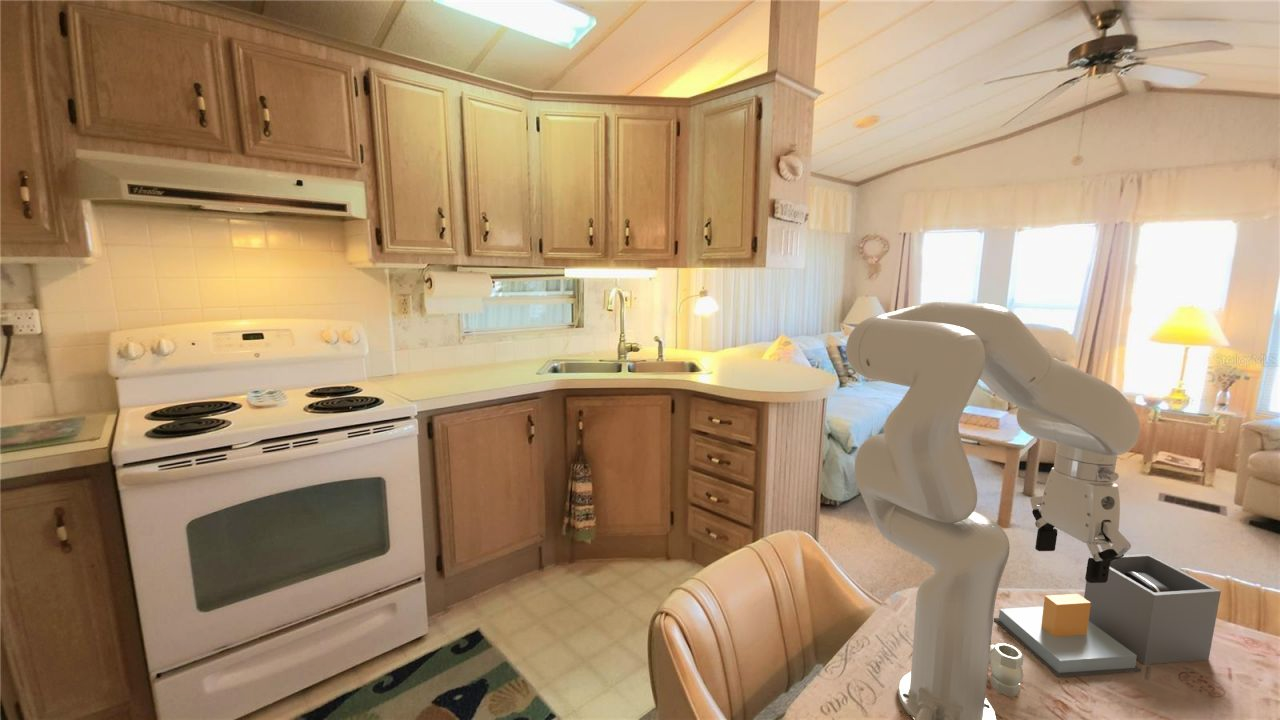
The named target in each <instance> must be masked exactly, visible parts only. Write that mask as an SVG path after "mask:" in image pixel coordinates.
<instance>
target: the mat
mask: <svg viewBox="0 0 1280 720" xmlns="http://www.w3.org/2000/svg"><path fill="white" fill-rule="evenodd" d="M994 621H995V623H997V625H998V626H1000V627H1001V628H1002V629H1004V630H1005V632H1006V633H1008V634H1009V636H1011V637H1012V638H1013V639H1015V640H1016V641H1017V643H1019V644H1020V645H1021V646H1022V647H1023V648H1025V649H1026V650H1027V651H1028V652H1029V653H1030V654H1031V655H1032V654H1033V657H1034V658H1036V659H1037V660H1038V661H1039V660H1040V661H1041V662H1042V663H1041V662H1040V661H1039V662H1040V663H1041V664H1042V665H1044V666H1045V667H1046V668H1047V669H1048V670H1049V671H1050V672H1051V673H1052V674H1053V675H1055V676H1056V677H1058V678H1069V677H1083V676H1084V677H1085V676H1096V675H1097V676H1099V675H1110V674H1125V673H1127V674H1128V673H1136V672H1137V673H1139V672H1141V670H1142V669H1141V668H1140V667H1138V666H1137V665H1135V668H1123V669H1108V670H1093V671H1079V672H1064V673H1058V672H1057V671H1056V670H1055V669H1054V668H1053V667H1051V666H1050V665H1049V664H1048V663H1047V662H1046V661H1045V660H1044V659H1042V658H1041V657H1040V656H1039V655H1038V654H1037V653H1036V652H1035V651H1033V650H1032V649H1031V648H1030V647H1029V646H1028V645H1027V644H1026V643H1024V642H1023V641H1022V640H1021V639H1020V638H1019V637H1018V636H1016V635H1015V634H1014V633H1013V632H1012V631H1011V630H1010V629H1009V628H1007V627H1006V626H1005V625H1004V624H1003V623H1002V622H1001V621H1000V620H999V617H993V622H994Z"/></svg>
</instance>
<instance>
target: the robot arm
mask: <svg viewBox="0 0 1280 720" xmlns="http://www.w3.org/2000/svg"><path fill="white" fill-rule="evenodd" d="M846 341H847V342H846V345H845V356H846V359H847V362H848V364H849V365H850V367H851V369H852V370H854V372H856V373H857V374H859V375H860V376H862V377H865V378H867V379H872V380H876V381H880V382H884V383H890V384H895V385H900V386H902V387H903V386H904V387H909V388H908V390H907V392H906V393H905V395H904V396H903V397H902V399H901V401H900V402H899V403H898V404H897V405H896V406H895V408H893V410H892V411H891V412H890V414H889V415H888V417H887V418H886V419H885V423H884V426H883V433H879V434H875V435H872V436H871V437H869V438H867V439H866V440H865V441H864V442H863V443H862V444H861V445H860V447H859V449H858V451H857V453H856V456H855V460H854V478H855V482H856V485H857V487H858V488H857V489H858V490H859V493H860V495H861V496H862V499H863V501H864V504H865V506H866V508H867V510H868V512H869V514H870V516H871V519H872V521H873V523H874V526H875V527H876V528H877V530H878V531H879V534H881V536H882V537H883V538H884V539H885V540H887V541H888V542H890V544H893V545H894V546H896V547H898V548H899V549H901V550H904V552H908V554H911V555H912V556H915V557H916V558H918V559H920V560H922V561H923V562H925V563H927V564H928V565H930V566H931V567H932V568H933V570H934V573H933V574H932V575H930V576H928V577H927V578H925V579H924V580H923V581H922V582H921V583H920V585H919V586H918V588H917V591H916V598H915V599H916V600H915V611H914V612H915V615H914V626H913V627H914V629H913V638H912V639H913V642H912V654H911V655H912V657H911V667H910V668H911V670H910V671H909V672H908V673H906V674H903V676H902V677H901V678H900V680H899V682H898V691H897V692H898V699H899V702H900V704H901V705H902V708H903V709H904V711H905V712H906V713H907V715H908V716H909V715H911V716H912V717H914V718H915V720H997V716H996V712H995V709H994V708H993V706H992V704H991V703H990V702H989V701H988V698H986V694H987V693H986V692H987V685H988V684H987V683H988V675H989V667H990V664H989V656H990V646H991V644H992V633H993V624H994V617H995V616H994V614H995V606H996V600H997V596H998V595H997V594H998V590H999V586H1000V583H1001V580H1002V577H1003V573H1004V571H1005V569H1006V565H1007V563H1008V559H1009V556H1010V550H1011V546H1010V545H1011V544H1010V540H1009V538H1008V535H1007V533H1006V531H1004V529H1003V528H1002V527H1001V526H1000V525H999V524H998V523H997V522H995V521H994V520H993V519H991V518H990V517H988V516H986V515H984V514H982V513H981V512H978V511H976V509H977V503H978V489H977V485H976V481H975V478H974V475H973V471H972V469H971V465H970V462H969V459H968V457H967V454H966V451H965V447H964V444H963V441H962V438H961V435H960V431H959V430H960V428H959V427H960V426H959V424H960V421H961V417H962V415H963V412H964V410H965V408H966V406H967V404H968V402H969V400H970V398H971V396H972V394H973V392H974V390H975V388H976V387H977V384H978V382H979V380H981V382H983V384H985V386H987V387H988V389H989V390H991V391H992V392H993V393H994V394H995V396H996V397H998V398H999V399H1001V400H1002V401H1005V402H1007V403H1009V404H1012V405H1014V406H1017V407H1018V408H1017V412H1016V421H1017V425H1018V426H1019V427H1020V429H1021V430H1022V431H1023V432H1025V434H1027V435H1029V436H1030V437H1033V438H1037V439H1039V440H1043V441H1047V442H1050V443H1055V444H1056V449H1055V450H1056V451H1055V455H1054V456H1055V457H1054V462H1053V467H1051V469H1050V471H1049V474H1048V476H1047V480H1046V483H1045V486H1044V491H1043V495H1041V496H1034V497H1030V498H1029V499H1030V504H1031V508H1032V510H1031V511H1032V513H1031V514H1032V515H1033V517H1034V520H1035V523H1034V524H1035V525H1034V526H1035V527H1036V528H1037V534H1036V540H1035V550H1036V551H1038V552H1054V551H1055V550H1056V545H1057V540H1058V539H1057V537H1058V530H1060V531H1062V532H1064V533H1066V534H1067V535H1069V536H1070V537H1073V538H1075V539H1076V540H1078V541H1080V542H1082V543H1084V544H1086V545H1087V548H1088V550H1089V552H1090V554H1091V557H1093V558H1089V557H1088V559H1087V564H1086V565H1087V566H1086V572H1085V578H1084V580H1085V581H1087V582H1089V583H1105V582H1107V580H1108V574H1109V568H1110V561H1115V560H1116V559H1118V558H1121V557H1123V556H1124V555H1126V553H1127V552H1128V551H1129V550H1130V549H1132V548H1131V547H1132V544H1131V543H1130V542H1129V541H1128V540H1127V538H1126V537H1125V536H1124V535H1123V534H1122V533H1121V532H1120V531H1119V527H1120V518H1121V517H1120V514H1121V501H1120V492H1119V491H1120V490H1119V485H1118V484H1117V483H1114V482H1115V481H1117V480H1118V479H1119V474H1118V472H1116V466H1117V461H1118V456H1121V455H1125V454H1126V453H1128V452H1129V451H1131V450H1133V448H1134V447H1135V445H1137V442H1138V440H1139V437H1140V433H1141V425H1140V421H1139V417H1138V414H1137V413H1136V411H1135V409H1134V407H1133V406H1132V404H1131V403H1130V402H1129V401H1128V399H1127V398H1126V396H1124V394H1123V393H1122V392H1121V391H1120V390H1119V389H1117V388H1116V387H1114V386H1112V385H1111V384H1109V383H1107V382H1105V381H1104V380H1102V379H1100V378H1097V377H1095V376H1094V375H1091V374H1090V373H1087V372H1085V371H1083V370H1081V369H1079V368H1077V367H1075V366H1073V365H1071V364H1069V363H1066V362H1064V361H1062V360H1060V359H1057V358H1055V357H1053V356H1052V355H1051V354H1050V353H1049V351H1047V349H1046V348H1045V347H1044V346H1043V345H1042V344H1041V342H1039V341H1038V339H1037V338H1036V337H1035V335H1034V334H1033V333H1032V332H1031V331H1030V329H1029V328H1028V327H1027V326H1026V325H1025V324H1024V323H1023V322H1022V320H1021V319H1020V318H1019V317H1018V316H1017V314H1015V312H1013V311H1011V310H1009V309H1008V308H1006V307H1004V306H1001V305H996V304H990V303H976V302H953V301H952V302H951V301H933V302H925V303H922V304H916V305H913V306H908V307H904V308H902V309H897V310H893V311H889V312H885V313H881V314H878V315H873V316H871V317H868V318H866V319H864V320H862V321H861V322H859V323H858V324H857V325H856V326H855V327H854V328H853V329H852V330H851V332H850V334H849V335H848V338H847V340H846ZM1111 544H1112V545H1111ZM1098 545H1099V546H1100V548H1101V549H1102V551H1101V550H1100V549H1099V547H1098ZM911 716H910V717H911ZM912 717H911V718H912Z"/></svg>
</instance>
